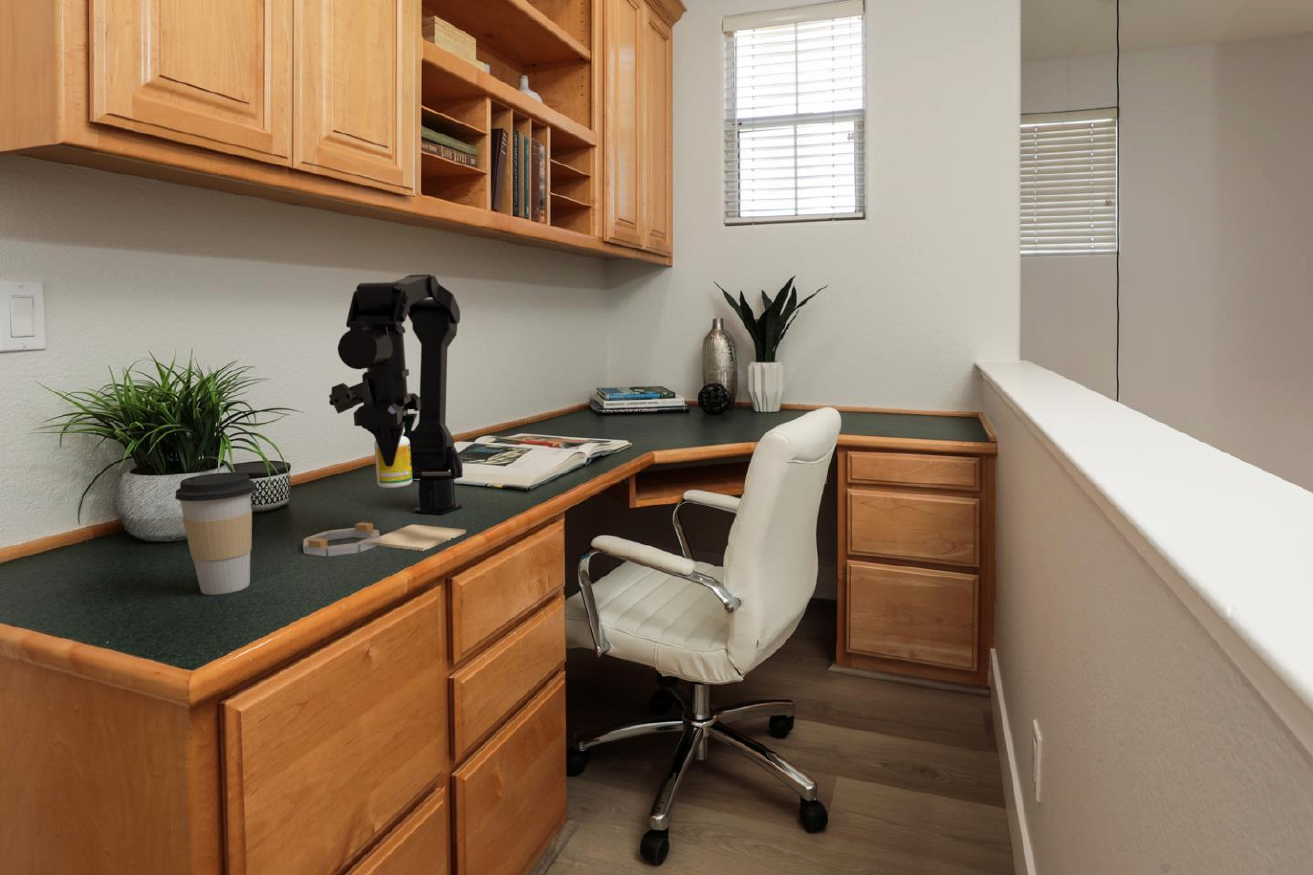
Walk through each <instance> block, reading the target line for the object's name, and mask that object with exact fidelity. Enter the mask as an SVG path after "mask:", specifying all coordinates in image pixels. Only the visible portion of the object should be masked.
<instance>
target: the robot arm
mask: <svg viewBox="0 0 1313 875" xmlns="http://www.w3.org/2000/svg"><path fill="white" fill-rule="evenodd" d="M350 302H351V303H350V305H349V309H348V310H349V311H348V315H347V318H346V323H345V325H346V328H349V330H348V331H346V332H344V334H343V335H341V338H340V339H339V342H338V345H337V352H338V356H339V358H340V360H341V361H342V362H343V364H344V365H345V366H347V367H349V368H351V369H353V370H364V369H366V371H365V372H363V373H362V376H361V379H362V381H361V382H359V383H356V384H354V385H351V386H348V385H347V384H346V383H344V382H343V383H339V384H336V385H333V386H331V392H330V394H328V397H329V401H328V402H329V405H330V406H334V409H335V411H336V414H341V413H343V412H346V411H348V410H350V409H352V408H355V406H358V405H360V404H363V405H361V406H359V407H358V408H357V409H356V410H355V411H354V412H353V421H354V422H353V423H354V424H353V425H354V426H355V427H361V428H362V429H363V430H366V431H367V432H369V433H370V434H372V435H373V436H374V439H375V441H377V444H378V447H379V449H380V452H381V455H382V457H383V460H384V463H385V465H386V466H393V464H394V461H395V458H396V454H397V451H398V447H399V443H400V440H401V436H402V433H403V429H404V427H405V432H404V434H403V436H405V437H407V438H408V439H409V441H410V452H411V467H412V481H414V480H418V489H417V490H418V503H419V507H416V508H414V509H413V512H414V513H420V514H421V513H422V514H431V515H432V514H433V515H444V514H447V513H450V512H452V511H454V510H455V511H456V510H458V509H460V508H463V503H456V492H455V480H456V479H460V478H463V471H464V470H463V469H464V468H463V461H462V460H461V458H460V455H459V453H458V450H457V449H456V447H455V438H454V437H453V435H452V434H451V432H450V430H449V429H448V427H447V425H446V421H447V420H446V419H447V418H446V417H447V416H446V415H447V412H446V411H447V410H446V408H447V380H448V377H447V375H448V369H447V368H448V348H449V346H450V345H451V343H452V342H453V341H454V339H455V337H457V335H458V334H457V333H458V332H457V331H458V324H459V323H460V322H461V321H460V320H461V310H460V306H459V304H458V301H457V300H456V297H455V296H454V294H453V293H452V292H451V291H450V290H448V289H446V287H443V285H441V284H440V283H439V281H438V279H437V277H436V276H435V275H432V274H430V273H429V274H427V273H426V274H409V275H406V276H405V277H403V278H401V279H397V280H394V281H391V282H387V281H386V282H385V281H383V282H360V283H359V284H358V285H357V286H356V290H355V291H354V292H353V294H352V298H351V301H350ZM407 317H408V319H409V320H410V322H411V324H412V331H413V333H414V335H415V336H416V339H418V341H419V343H420V371H419V372H420V376H419V378H420V379H419V380H420V381H419V395H417V394H416V393H415V392H412V393H411V392H408V384H407V383H408V382H407V380H408V379H407V377H408V376H410V371H409V370H410V369H409V368H406V367H407V366H406V354H405V341H404V338H405V337H404V334H405V333H406V328H405V327H404V326H403V323H404V322H406V319H407ZM409 410H413V411H414V412H418V413H409ZM417 417H418V423H417V425H416V426H415V428H414V429H413V426H414V424H415V421H416V419H417Z"/></svg>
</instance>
